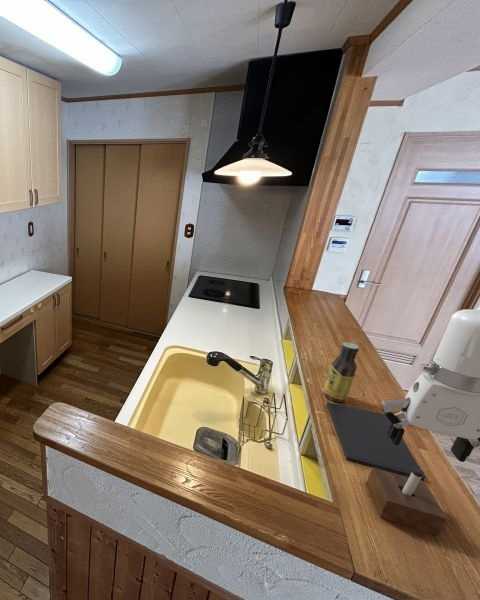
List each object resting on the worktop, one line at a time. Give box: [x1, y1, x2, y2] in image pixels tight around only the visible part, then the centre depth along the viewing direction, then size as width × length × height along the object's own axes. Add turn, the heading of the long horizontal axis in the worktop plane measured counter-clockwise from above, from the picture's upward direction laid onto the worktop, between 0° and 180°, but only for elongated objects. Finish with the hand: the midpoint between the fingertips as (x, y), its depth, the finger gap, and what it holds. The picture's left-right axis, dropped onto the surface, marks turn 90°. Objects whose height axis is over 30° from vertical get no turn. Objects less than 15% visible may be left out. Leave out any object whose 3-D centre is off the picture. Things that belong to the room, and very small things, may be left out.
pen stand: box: [365, 467, 448, 537], centre depth 70 cm, size 9×9×5 cm
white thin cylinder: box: [401, 467, 425, 496], centre depth 69 cm, size 2×2×11 cm
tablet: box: [325, 401, 426, 482], centre depth 90 cm, size 15×24×1 cm, turn 154°
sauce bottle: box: [323, 341, 360, 403], centre depth 103 cm, size 6×6×20 cm
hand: (423, 448), depth 65 cm, fingers open, 9 cm apart
